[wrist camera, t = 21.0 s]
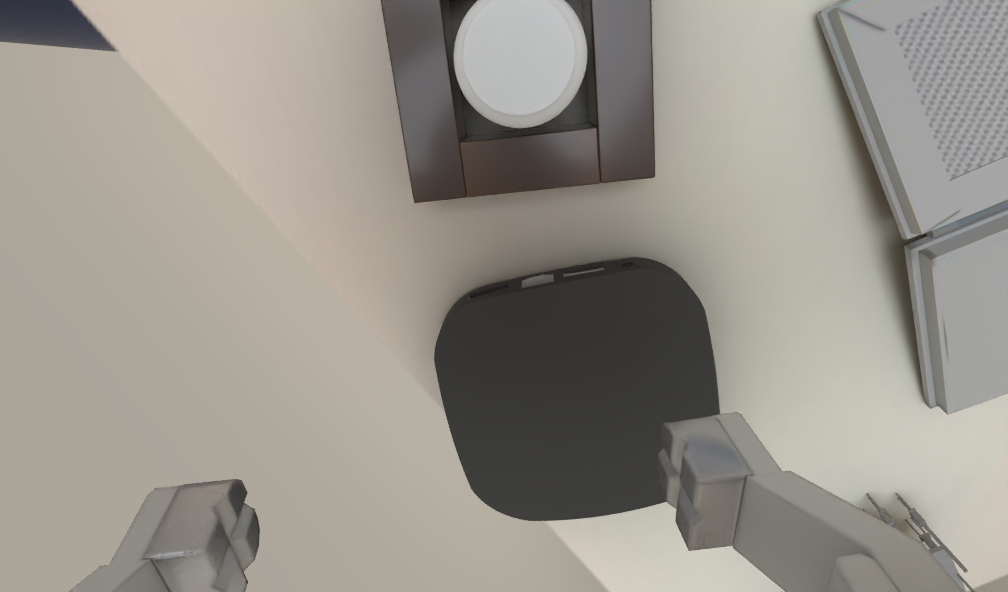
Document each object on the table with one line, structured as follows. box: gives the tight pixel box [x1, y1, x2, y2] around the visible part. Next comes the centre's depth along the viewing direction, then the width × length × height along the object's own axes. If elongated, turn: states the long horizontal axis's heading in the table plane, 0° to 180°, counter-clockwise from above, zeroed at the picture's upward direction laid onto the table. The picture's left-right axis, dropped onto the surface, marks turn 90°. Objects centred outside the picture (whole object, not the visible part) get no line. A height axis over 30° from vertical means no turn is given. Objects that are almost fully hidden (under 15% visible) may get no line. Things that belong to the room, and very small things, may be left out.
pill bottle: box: [454, 0, 587, 128], centre depth 24 cm, size 5×5×9 cm
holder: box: [381, 0, 655, 203], centre depth 26 cm, size 11×11×4 cm
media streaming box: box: [434, 258, 720, 521], centre depth 32 cm, size 15×15×3 cm
